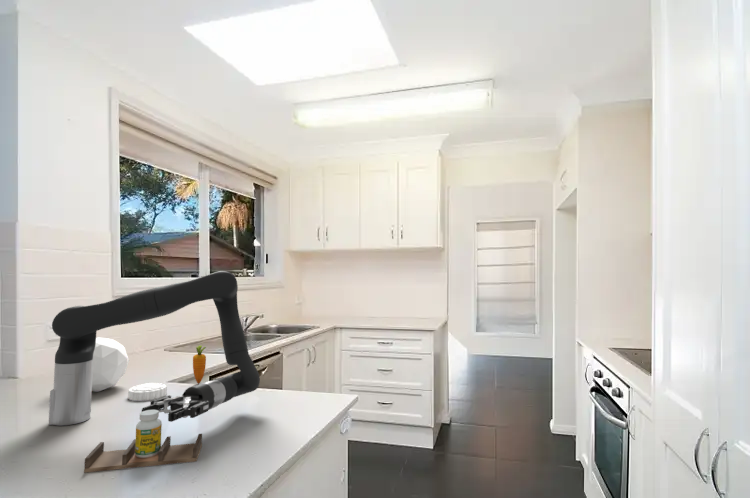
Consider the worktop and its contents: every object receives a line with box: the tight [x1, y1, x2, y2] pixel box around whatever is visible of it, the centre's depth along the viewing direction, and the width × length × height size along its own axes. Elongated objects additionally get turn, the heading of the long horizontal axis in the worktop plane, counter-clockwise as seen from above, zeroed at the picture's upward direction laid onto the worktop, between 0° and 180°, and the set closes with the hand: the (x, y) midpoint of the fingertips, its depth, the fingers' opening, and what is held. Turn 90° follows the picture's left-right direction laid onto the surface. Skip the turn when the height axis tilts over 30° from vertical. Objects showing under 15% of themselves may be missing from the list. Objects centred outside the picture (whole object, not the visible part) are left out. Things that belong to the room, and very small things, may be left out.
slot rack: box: [83, 433, 203, 474], centre depth 99 cm, size 23×9×3 cm, turn 105°
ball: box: [92, 337, 130, 392], centre depth 157 cm, size 19×20×20 cm
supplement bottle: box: [135, 410, 163, 458], centre depth 100 cm, size 5×5×10 cm
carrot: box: [192, 345, 207, 385], centre depth 166 cm, size 5×5×15 cm
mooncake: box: [127, 382, 168, 402], centre depth 149 cm, size 12×12×4 cm
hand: (155, 415), depth 101 cm, fingers open, 8 cm apart
